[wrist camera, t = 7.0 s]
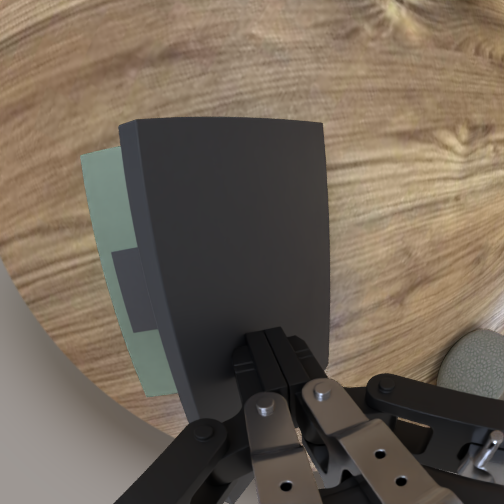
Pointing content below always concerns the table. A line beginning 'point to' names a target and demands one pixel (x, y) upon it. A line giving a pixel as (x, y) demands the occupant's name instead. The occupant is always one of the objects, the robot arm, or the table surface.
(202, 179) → the tablet screen
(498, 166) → the table surface
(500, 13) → the table surface
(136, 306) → the green laptop base
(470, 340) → the planter
